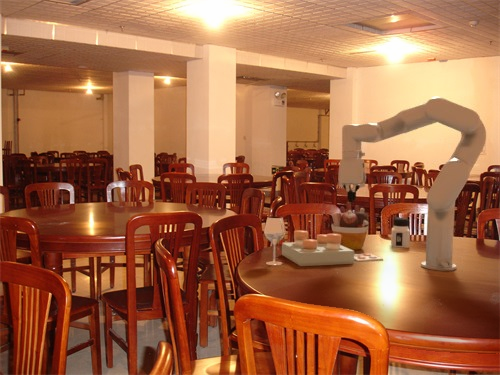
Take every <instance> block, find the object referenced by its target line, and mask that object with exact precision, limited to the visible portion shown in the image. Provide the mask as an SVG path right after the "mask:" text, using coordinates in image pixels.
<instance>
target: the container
mask: <svg viewBox="0 0 500 375" xmlns="http://www.w3.org/2000/svg"><path fill="white" fill-rule="evenodd" d="M390 236H391V238H390V239H391V240H390V241H391V242H390V245H391V247H392V248H401V249H402V248H403V249H404V248H406V249H409V248H410V245H411V239H410V238H411V231H410V229H409V219H408V218H405V217H394V219H393V227H391V235H390Z"/></svg>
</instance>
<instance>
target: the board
mask: <svg viewBox="0 0 500 375" xmlns="http://www.w3.org/2000/svg"><path fill="white" fill-rule="evenodd" d="M354 254H355V250H351V249H349V248H346V247H344V246H342V245H340V250H328V249H327V245H324V246H319V245H317V251H304V250H303V246H297V247H296V246H294V242H293V241H291V242H282V243H281V255H282V256H284V257H285V258H287V259H288V260H290V261H291V262H293V263H295V264H297V265H298V266H299V267H307V266H308V267H309V266H311V267H312V266H313V267H314V266H331V265H332V266H333V265H352V264H355V260H354Z"/></svg>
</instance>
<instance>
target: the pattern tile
mask: <svg viewBox="0 0 500 375" xmlns="http://www.w3.org/2000/svg"><path fill="white" fill-rule="evenodd" d="M354 261H356V262H374V261H376V262H377V261H378V262H379V261H384V258H382V257H379V256H377V255H374V254H373V253H354Z"/></svg>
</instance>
